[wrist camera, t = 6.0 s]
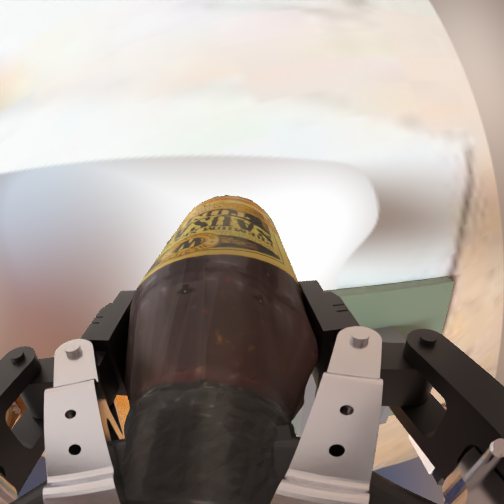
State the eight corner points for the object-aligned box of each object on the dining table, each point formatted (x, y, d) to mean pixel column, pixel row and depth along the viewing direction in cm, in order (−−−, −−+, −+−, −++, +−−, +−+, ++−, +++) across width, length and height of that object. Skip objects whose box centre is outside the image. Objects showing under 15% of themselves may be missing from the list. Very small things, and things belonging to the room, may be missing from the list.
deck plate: (447, 276, 30) (476, 296, 24) (410, 401, 36) (426, 426, 31) (213, 298, 28) (210, 330, 23) (229, 433, 34) (230, 466, 29)
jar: (436, 432, 41) (464, 475, 29) (402, 443, 40) (428, 492, 28) (456, 398, 38) (491, 444, 26) (421, 409, 37) (455, 462, 26)
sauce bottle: (260, 180, 20) (530, 486, 1) (283, 266, 22) (411, 570, 3) (165, 208, 20) (-55, 502, 1) (195, 290, 22) (152, 601, 3)
